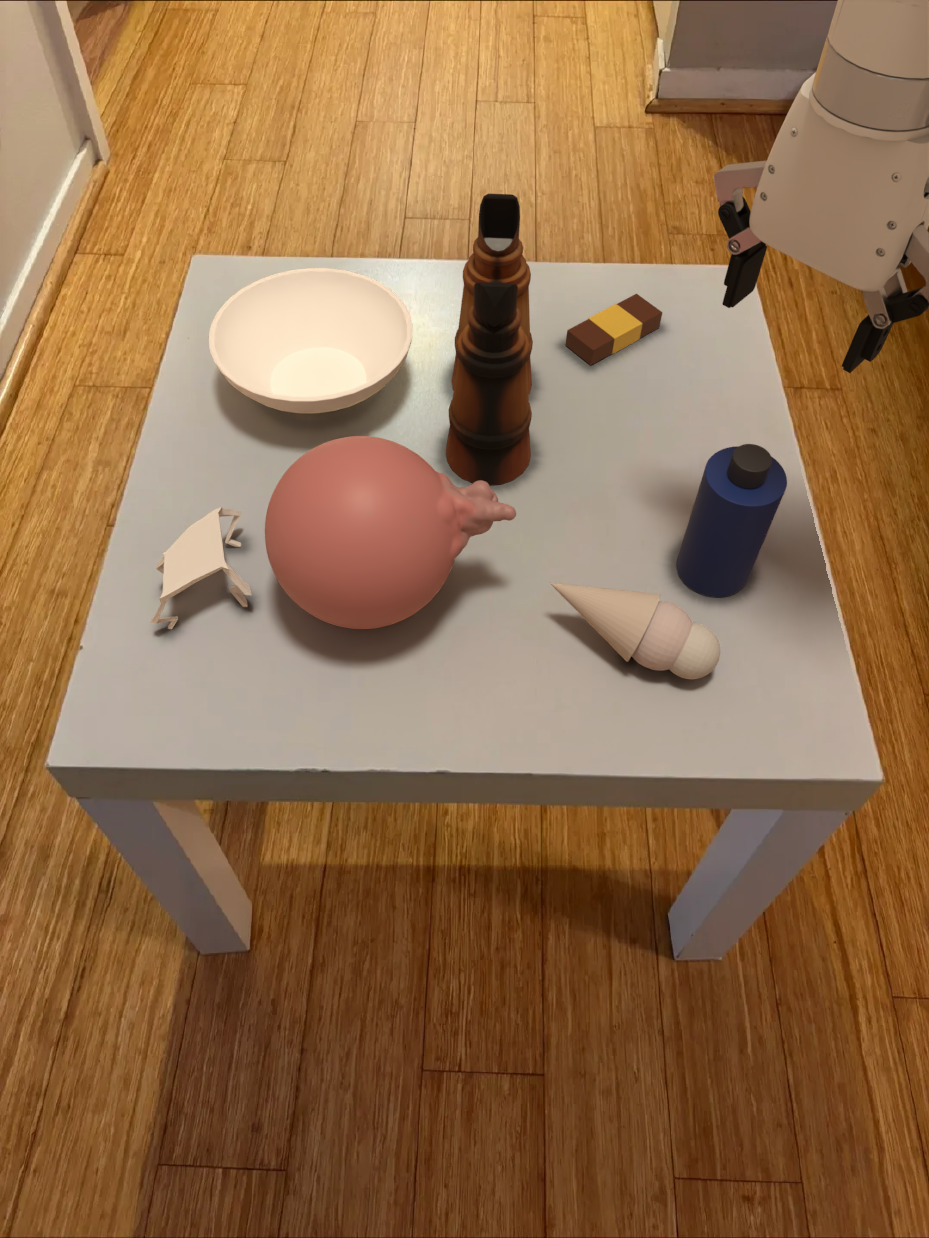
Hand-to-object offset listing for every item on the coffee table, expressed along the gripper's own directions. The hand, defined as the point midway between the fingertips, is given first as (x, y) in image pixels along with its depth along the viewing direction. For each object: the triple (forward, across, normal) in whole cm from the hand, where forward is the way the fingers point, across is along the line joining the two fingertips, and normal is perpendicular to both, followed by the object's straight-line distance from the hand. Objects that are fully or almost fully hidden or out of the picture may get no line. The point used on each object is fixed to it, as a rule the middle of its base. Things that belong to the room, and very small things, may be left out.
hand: (795, 329), depth 69 cm
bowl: (+24, +42, +11) cm, 49 cm away
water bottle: (+24, -1, +2) cm, 24 cm away
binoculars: (+24, +26, +2) cm, 36 cm away
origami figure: (+24, +30, +34) cm, 51 cm away
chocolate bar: (+24, +25, -16) cm, 38 cm away
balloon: (+24, +17, +24) cm, 38 cm away
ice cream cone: (+24, -1, +14) cm, 28 cm away
